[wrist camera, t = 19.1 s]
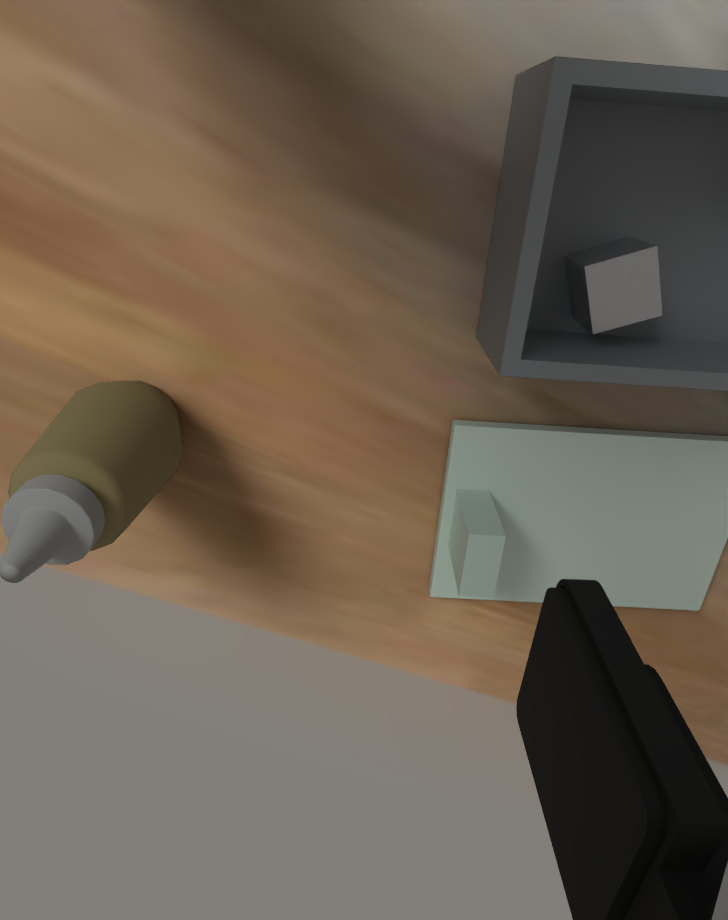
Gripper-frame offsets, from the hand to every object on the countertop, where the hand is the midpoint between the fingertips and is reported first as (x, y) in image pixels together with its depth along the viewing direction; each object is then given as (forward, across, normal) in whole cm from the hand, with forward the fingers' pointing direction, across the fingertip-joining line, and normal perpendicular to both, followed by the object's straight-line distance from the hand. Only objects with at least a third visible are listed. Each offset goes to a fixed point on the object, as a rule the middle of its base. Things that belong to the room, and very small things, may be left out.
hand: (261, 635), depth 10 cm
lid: (+32, -20, +18) cm, 43 cm away
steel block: (+32, -17, 0) cm, 36 cm away
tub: (+33, -21, -3) cm, 39 cm away
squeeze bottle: (+33, +13, +12) cm, 38 cm away
